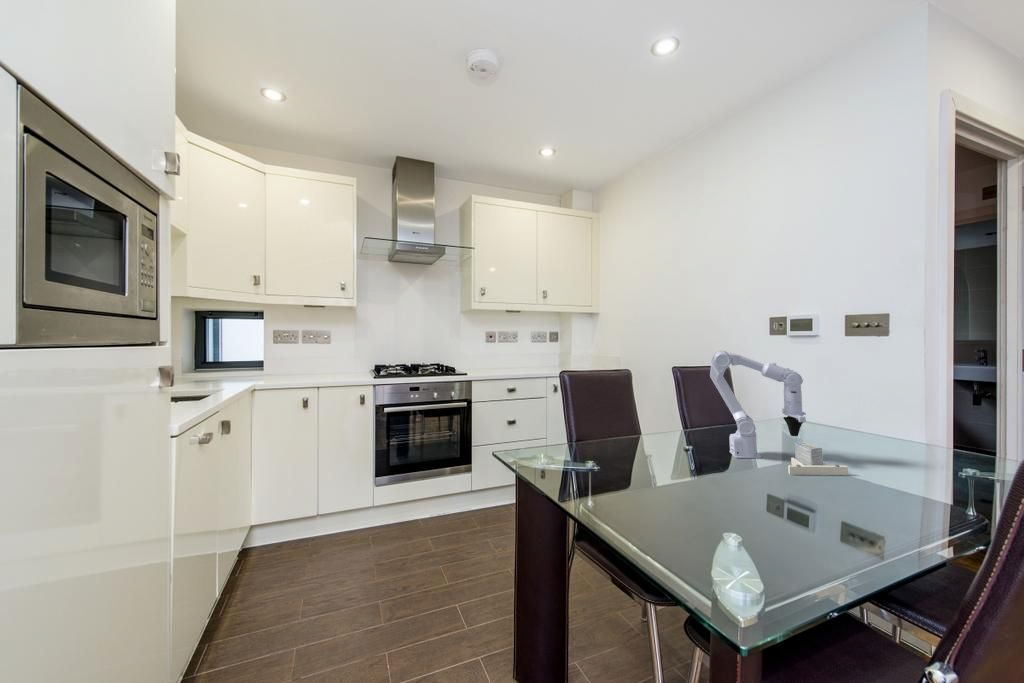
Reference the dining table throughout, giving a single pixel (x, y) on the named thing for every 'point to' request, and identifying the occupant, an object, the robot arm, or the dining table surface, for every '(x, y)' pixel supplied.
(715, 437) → the dining table surface
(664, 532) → the dining table surface
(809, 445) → the medicine box
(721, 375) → the robot arm
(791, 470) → the dock
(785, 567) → the dining table surface
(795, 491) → the dining table surface
